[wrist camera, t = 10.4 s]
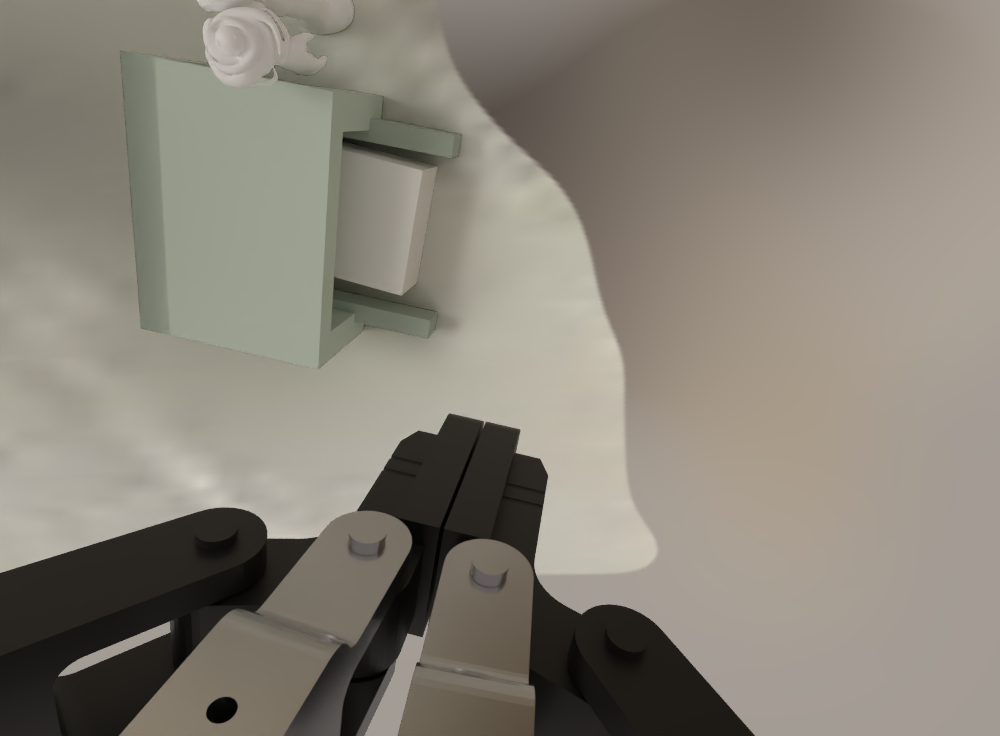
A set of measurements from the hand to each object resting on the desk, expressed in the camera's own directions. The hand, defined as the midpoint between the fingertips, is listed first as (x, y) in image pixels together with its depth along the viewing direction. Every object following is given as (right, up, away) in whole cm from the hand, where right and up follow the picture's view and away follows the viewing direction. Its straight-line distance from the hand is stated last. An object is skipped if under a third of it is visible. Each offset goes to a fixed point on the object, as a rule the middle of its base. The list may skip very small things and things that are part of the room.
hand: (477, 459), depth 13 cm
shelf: (-9, +10, +19) cm, 23 cm away
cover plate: (-8, +11, +19) cm, 23 cm away
